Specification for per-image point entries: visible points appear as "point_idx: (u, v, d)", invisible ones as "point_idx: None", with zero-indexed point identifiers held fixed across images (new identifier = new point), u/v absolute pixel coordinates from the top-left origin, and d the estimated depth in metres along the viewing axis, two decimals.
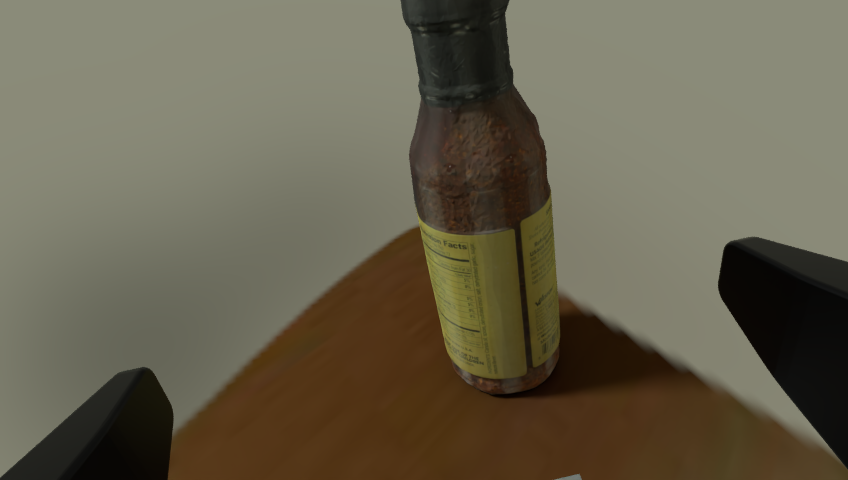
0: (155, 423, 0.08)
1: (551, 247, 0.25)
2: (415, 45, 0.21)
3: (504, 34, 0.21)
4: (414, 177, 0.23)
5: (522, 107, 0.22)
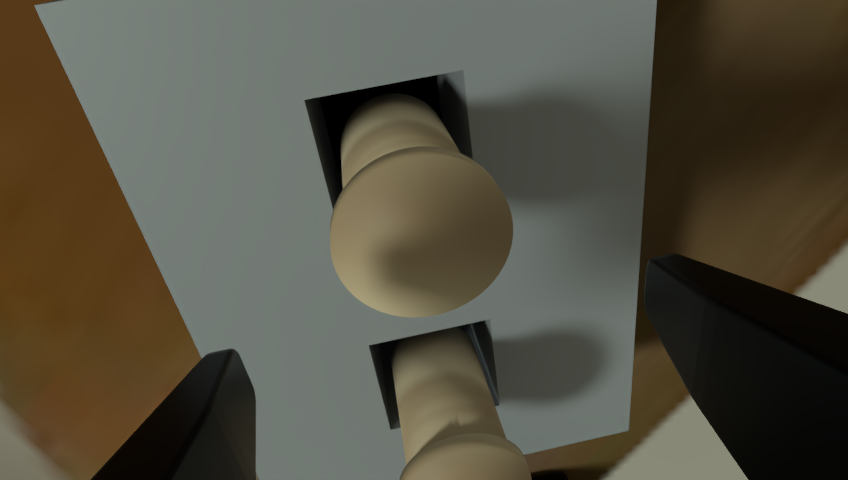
0: (244, 403, 0.08)
1: None
2: None
3: None
4: None
5: None
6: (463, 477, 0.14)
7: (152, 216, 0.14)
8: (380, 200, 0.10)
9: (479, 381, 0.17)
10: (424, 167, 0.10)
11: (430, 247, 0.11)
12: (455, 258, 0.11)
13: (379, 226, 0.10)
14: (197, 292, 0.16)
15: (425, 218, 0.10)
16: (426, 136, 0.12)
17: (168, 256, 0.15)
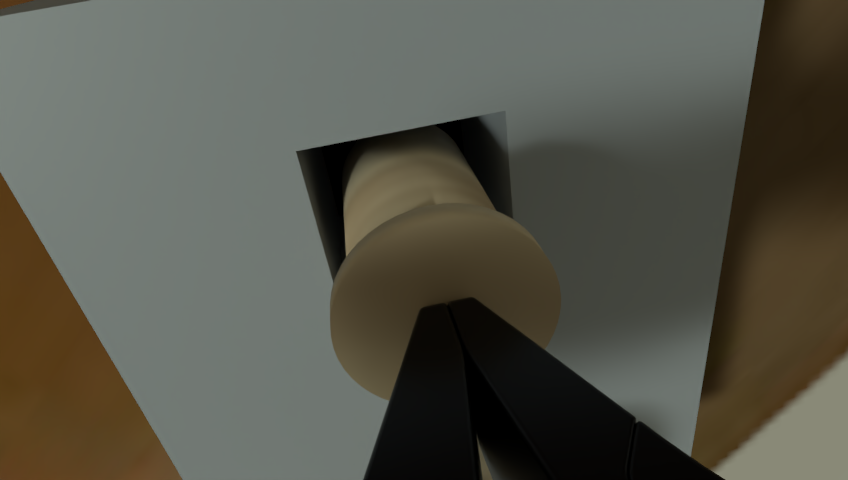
0: None
1: None
2: None
3: None
4: None
5: None
6: None
7: (99, 298, 0.11)
8: (395, 274, 0.08)
9: None
10: (452, 233, 0.08)
11: None
12: None
13: (393, 304, 0.08)
14: (162, 385, 0.12)
15: (451, 293, 0.08)
16: (449, 181, 0.10)
17: (123, 344, 0.12)
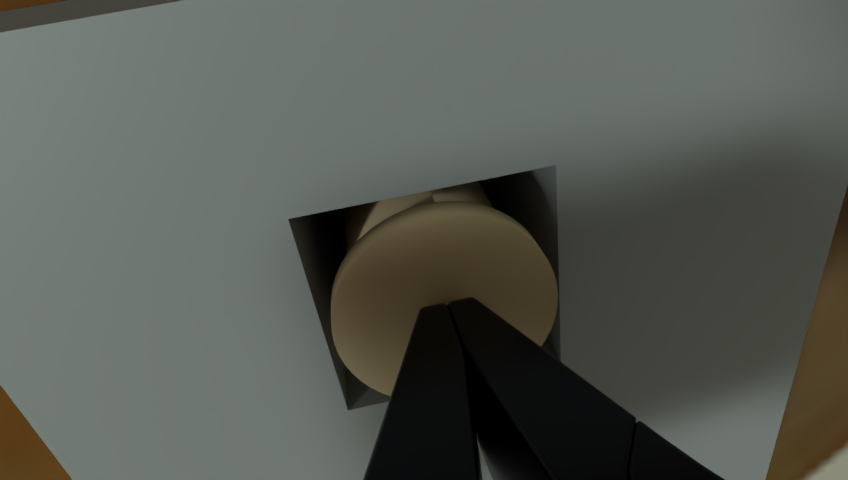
0: None
1: None
2: None
3: None
4: None
5: None
6: None
7: (41, 397, 0.09)
8: (394, 271, 0.08)
9: None
10: (450, 230, 0.08)
11: None
12: None
13: (393, 300, 0.08)
14: None
15: (450, 290, 0.08)
16: None
17: (74, 448, 0.09)
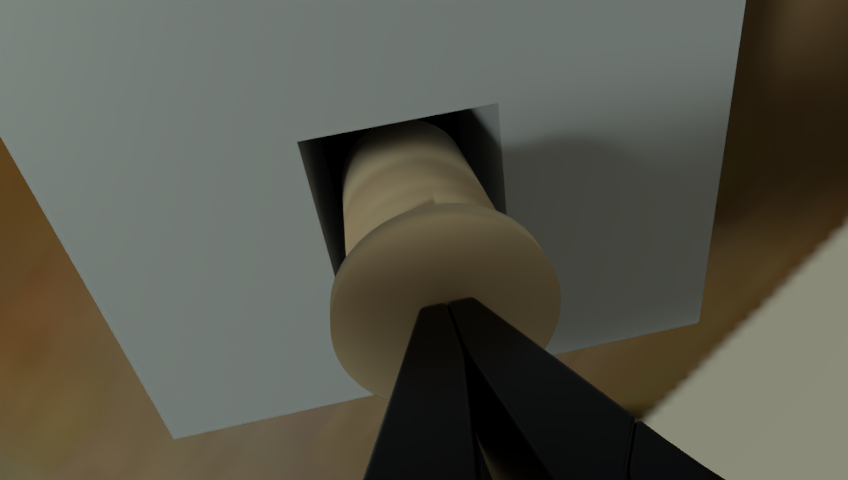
0: None
1: None
2: None
3: None
4: None
5: None
6: (441, 284, 0.08)
7: None
8: None
9: (472, 176, 0.11)
10: None
11: None
12: None
13: None
14: None
15: None
16: None
17: None
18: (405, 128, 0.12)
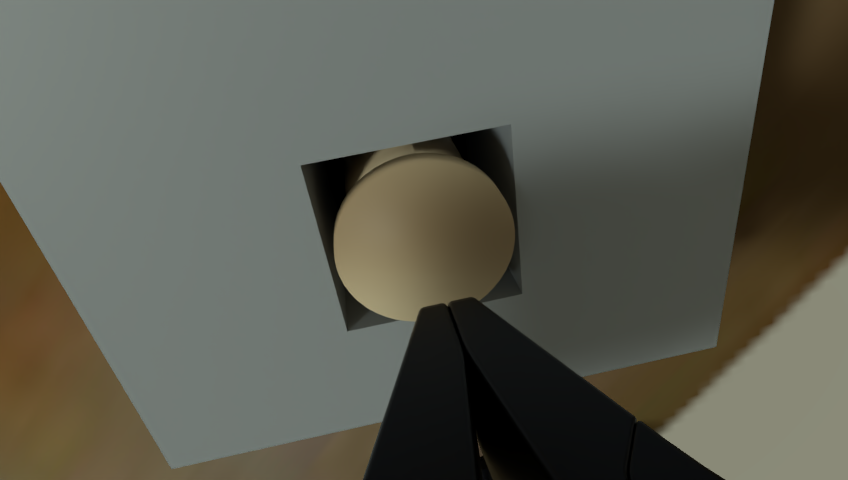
0: None
1: None
2: None
3: None
4: None
5: None
6: (419, 215, 0.10)
7: None
8: None
9: (449, 141, 0.13)
10: None
11: None
12: None
13: None
14: None
15: None
16: None
17: None
18: None
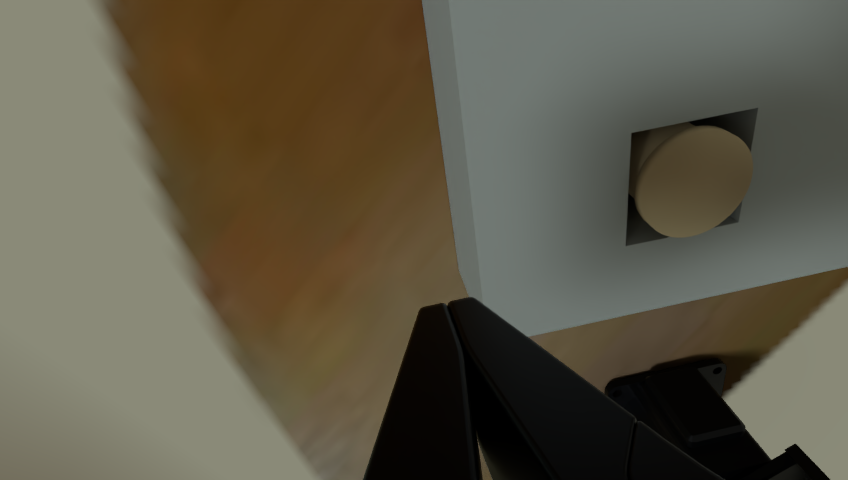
0: None
1: None
2: None
3: None
4: None
5: None
6: (699, 165, 0.17)
7: None
8: None
9: None
10: None
11: None
12: None
13: None
14: (480, 47, 0.14)
15: None
16: None
17: None
18: None
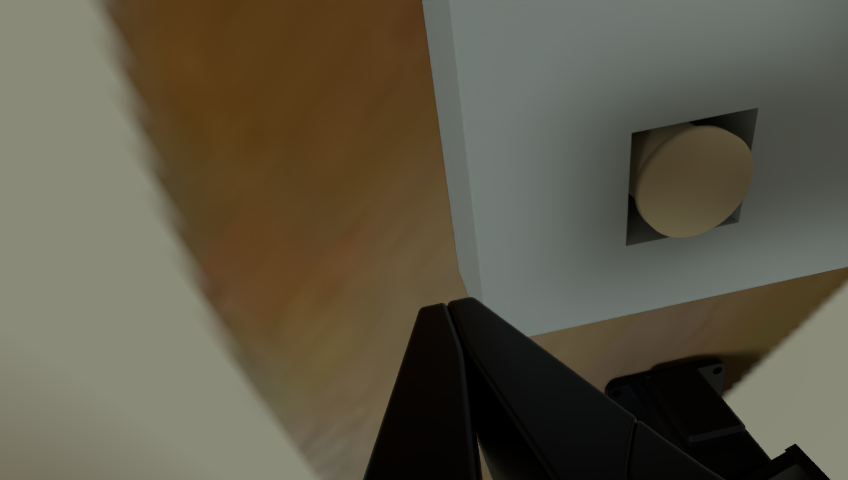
0: None
1: None
2: None
3: None
4: None
5: None
6: (699, 165, 0.17)
7: None
8: None
9: None
10: None
11: None
12: None
13: None
14: (480, 47, 0.14)
15: None
16: None
17: None
18: None
